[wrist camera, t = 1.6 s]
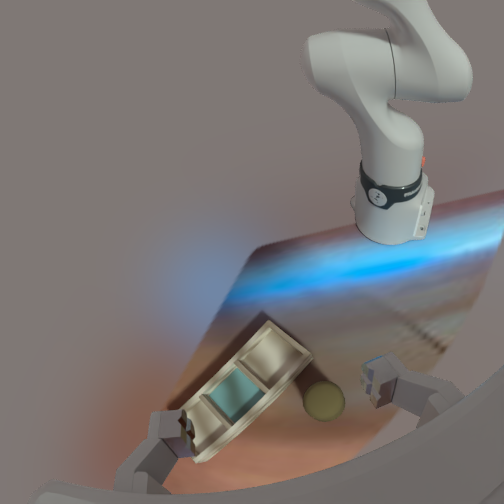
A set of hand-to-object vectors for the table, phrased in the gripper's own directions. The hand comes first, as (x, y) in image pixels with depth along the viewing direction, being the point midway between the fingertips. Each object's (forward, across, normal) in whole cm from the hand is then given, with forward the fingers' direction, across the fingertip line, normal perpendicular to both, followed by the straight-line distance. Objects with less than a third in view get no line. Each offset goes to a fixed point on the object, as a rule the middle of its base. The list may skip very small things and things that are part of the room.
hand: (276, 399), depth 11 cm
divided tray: (+24, +5, +26) cm, 36 cm away
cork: (+18, -8, +27) cm, 34 cm away
